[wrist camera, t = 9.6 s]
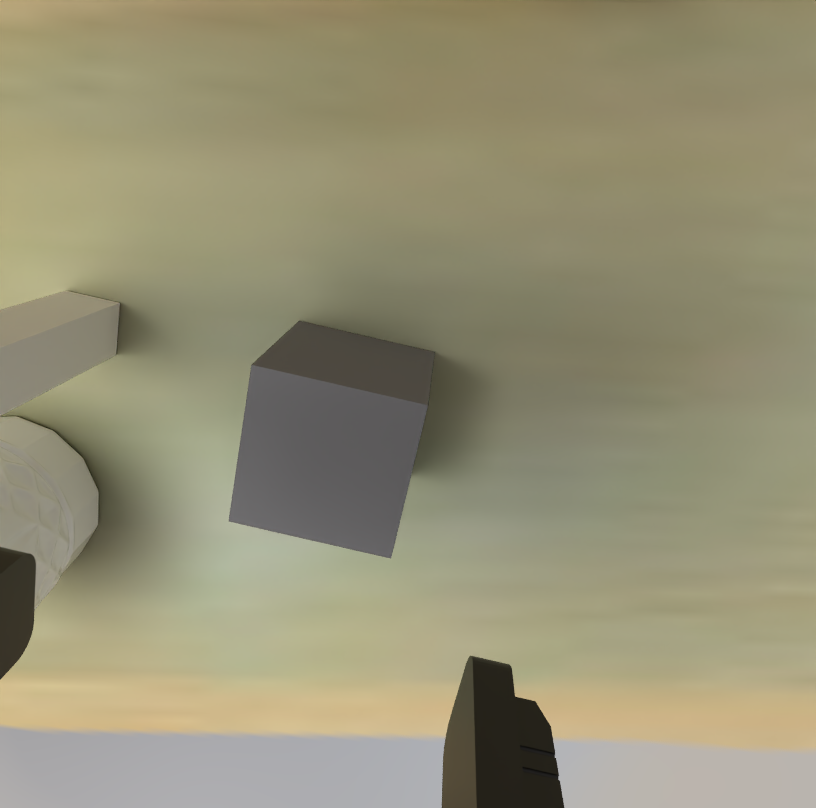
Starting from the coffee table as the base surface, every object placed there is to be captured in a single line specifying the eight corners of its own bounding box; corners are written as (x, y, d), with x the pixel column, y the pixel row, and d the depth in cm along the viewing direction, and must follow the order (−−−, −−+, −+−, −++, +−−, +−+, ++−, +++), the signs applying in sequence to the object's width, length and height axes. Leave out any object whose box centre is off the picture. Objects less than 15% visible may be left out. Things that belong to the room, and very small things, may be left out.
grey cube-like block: (299, 320, 24) (251, 364, 19) (434, 351, 24) (428, 405, 19) (278, 445, 26) (228, 521, 20) (405, 474, 26) (391, 558, 20)
